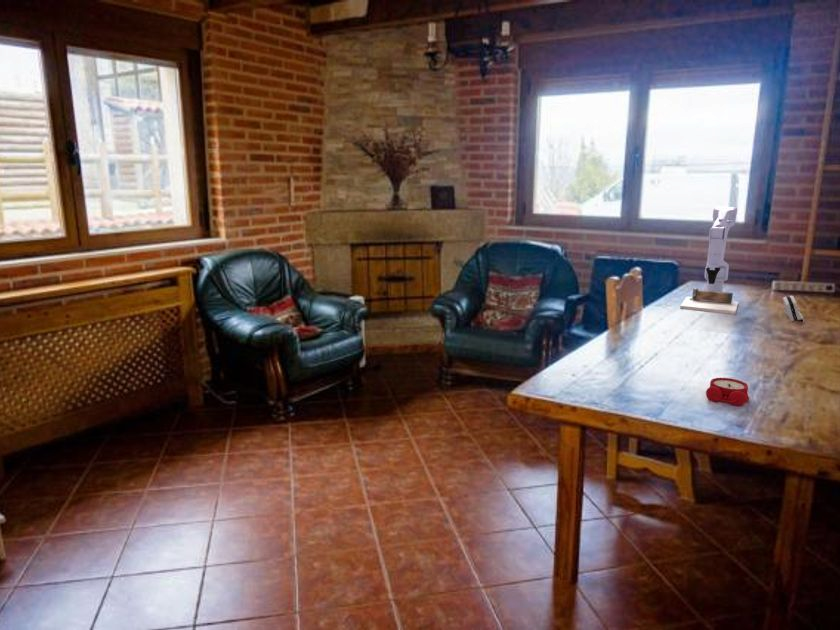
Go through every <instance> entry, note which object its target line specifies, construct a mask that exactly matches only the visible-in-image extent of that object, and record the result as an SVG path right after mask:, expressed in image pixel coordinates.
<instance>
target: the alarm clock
mask: <svg viewBox="0 0 840 630" xmlns="http://www.w3.org/2000/svg"><path fill="white" fill-rule="evenodd" d="M748 392H749V385H748V384H747V383H746V382H745V381H742V380H739V379H735V378H729V377H716V378H712V379H711V380H710V382H709V387H708V388H707V389H706V391H705V396H706V398H707V400H709V402H710V401H711V402H713V403H718V402H722V403H726V404H730V405H732V406H735V407H741V406H743V405H745V404H746V403H748V402H749V401H750V397H749V393H748Z"/></svg>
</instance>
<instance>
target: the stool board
mask: <svg viewBox="0 0 840 630" xmlns="http://www.w3.org/2000/svg"><path fill="white" fill-rule="evenodd" d="M725 292H726V291H725ZM726 293H729V292H728V291H727V292H726ZM738 306H739V301H735V300H732V302H731V303H727V302H717V301H708V300H698V299H692V296H686V297H685V298H684V300H683V301H682V303H681V304H680V307H679V308H680V309H682V308H685V310H692V309H693V310H694V311H701V310H702V311H703V312H711V313H720V314H721V313H722V314H728V313H730V314H729V315H736V312H737V309H738ZM693 310H692V311H693Z"/></svg>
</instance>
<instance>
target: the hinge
mask: <svg viewBox="0 0 840 630" xmlns="http://www.w3.org/2000/svg"><path fill="white" fill-rule="evenodd" d="M781 299H782V303H783V306H784V311H785V314H786V315H787V317H788V319H789V321H790V320H791V321H790V322H794V321H795V320H796V321H799V320H801V321H802V320H803V321H802V322H803V323H806V322H805V318H804V316H803V315H802V313H801V311H800V310H799V307H798V304H797V301H796V298H795V297H794V295H788V296H784V297H782V298H781Z"/></svg>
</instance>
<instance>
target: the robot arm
mask: <svg viewBox="0 0 840 630" xmlns="http://www.w3.org/2000/svg"><path fill="white" fill-rule="evenodd" d="M737 215H738V207H737V206H718V205H717V206H714V207H713V210H712V223H713V224H712V227H710V228H709V232H708V252H707V258H706V259H707V260H706V264H705V265H706V266H705V269H704V278H705V280H706V288H705V290H706V291H716V292H724V283H725V282H726V281H728V278H729V269H730V265H729V263H727V262H726V261H725V260H724V258H725V253H726V247H727V242H728V241H727V239H728V235H729V231H730V228H732V227H734V226H735V224H736V221H737V220H736V219H737Z"/></svg>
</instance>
